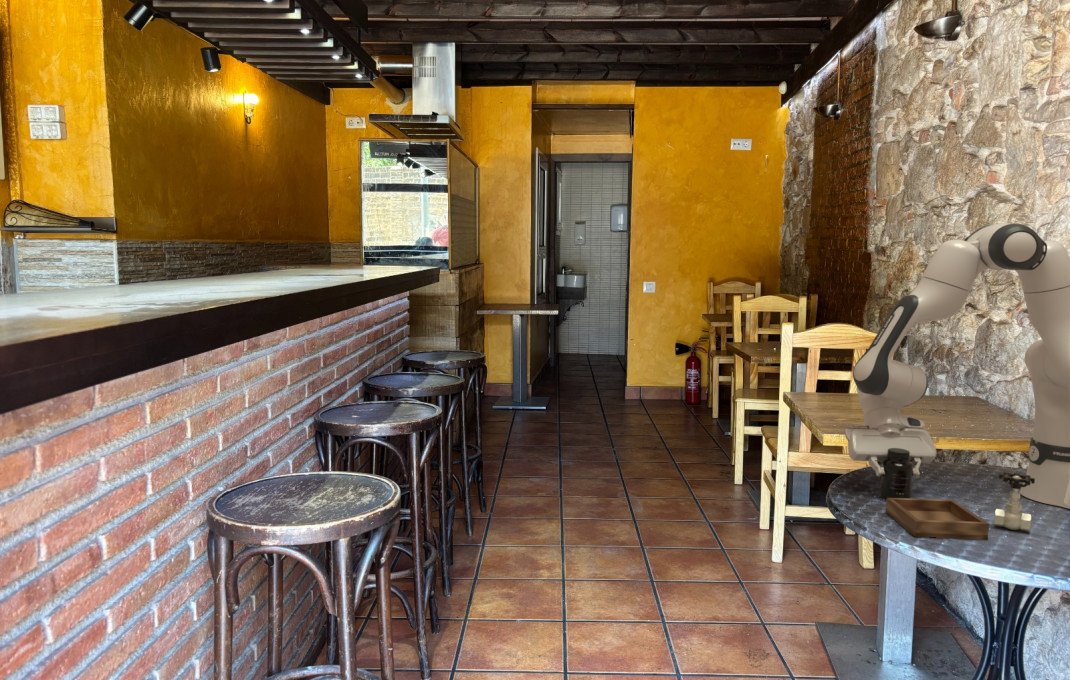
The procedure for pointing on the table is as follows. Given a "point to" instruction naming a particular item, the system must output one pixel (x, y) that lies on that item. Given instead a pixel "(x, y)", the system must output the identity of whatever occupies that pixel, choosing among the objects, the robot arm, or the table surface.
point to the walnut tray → (937, 518)
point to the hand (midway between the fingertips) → (898, 475)
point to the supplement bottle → (897, 474)
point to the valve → (1014, 504)
